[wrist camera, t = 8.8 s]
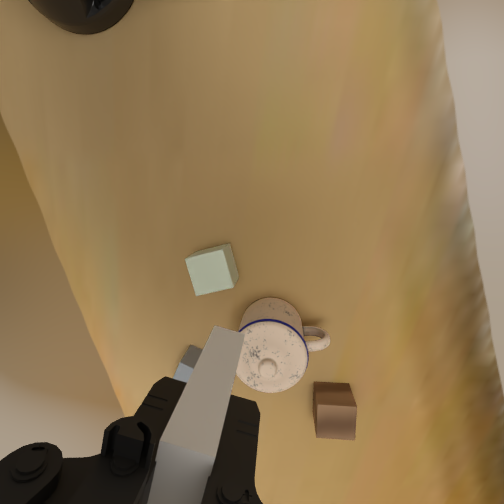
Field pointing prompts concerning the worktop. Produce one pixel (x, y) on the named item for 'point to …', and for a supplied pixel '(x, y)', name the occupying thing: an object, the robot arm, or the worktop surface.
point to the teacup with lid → (275, 345)
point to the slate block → (187, 364)
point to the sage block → (212, 269)
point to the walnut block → (334, 411)
